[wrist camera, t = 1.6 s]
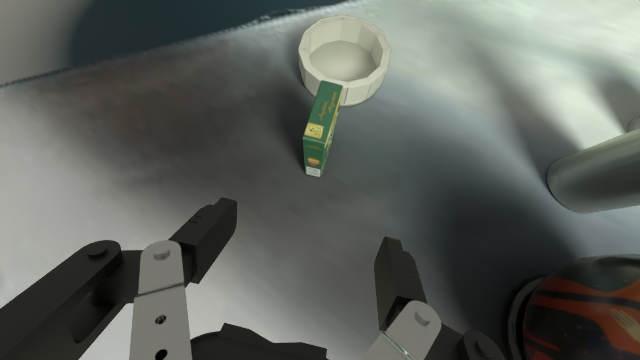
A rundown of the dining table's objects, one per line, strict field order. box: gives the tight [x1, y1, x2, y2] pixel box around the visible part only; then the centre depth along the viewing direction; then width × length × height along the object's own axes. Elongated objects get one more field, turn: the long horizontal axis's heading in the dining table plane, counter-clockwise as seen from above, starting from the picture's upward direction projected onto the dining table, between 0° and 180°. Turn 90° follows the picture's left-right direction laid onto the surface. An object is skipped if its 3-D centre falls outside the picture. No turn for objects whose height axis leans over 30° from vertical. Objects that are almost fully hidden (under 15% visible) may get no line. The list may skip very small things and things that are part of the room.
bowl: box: [298, 15, 391, 107], centre depth 42 cm, size 15×15×5 cm
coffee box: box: [303, 80, 343, 178], centre depth 33 cm, size 8×3×13 cm, turn 164°
